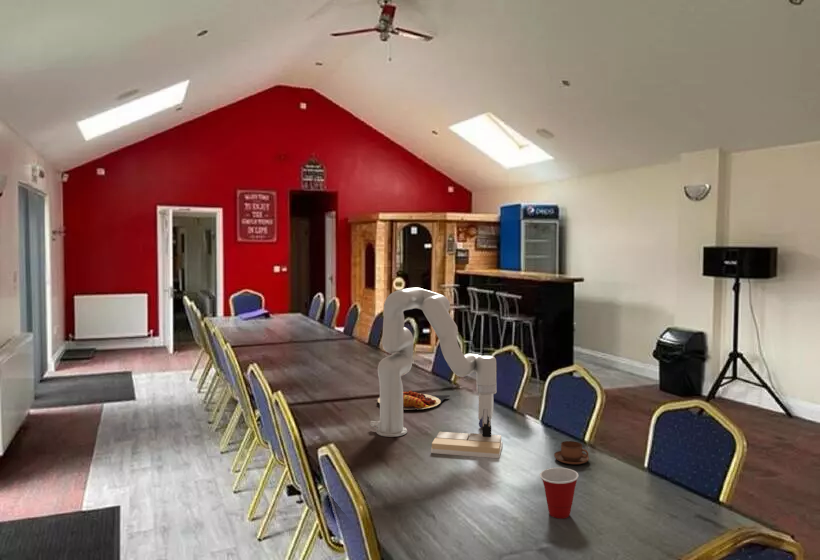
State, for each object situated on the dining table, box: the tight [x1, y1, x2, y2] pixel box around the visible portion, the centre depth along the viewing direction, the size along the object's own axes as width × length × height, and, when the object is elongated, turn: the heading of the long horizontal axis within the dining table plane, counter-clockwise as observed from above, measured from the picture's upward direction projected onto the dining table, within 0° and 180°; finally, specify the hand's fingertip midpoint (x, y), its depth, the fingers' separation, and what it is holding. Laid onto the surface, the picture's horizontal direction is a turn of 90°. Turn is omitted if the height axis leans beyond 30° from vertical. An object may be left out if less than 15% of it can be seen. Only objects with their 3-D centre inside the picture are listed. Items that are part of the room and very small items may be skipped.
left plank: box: [435, 431, 470, 440], centre depth 238 cm, size 12×7×2 cm, turn 77°
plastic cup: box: [539, 467, 579, 519], centre depth 178 cm, size 11×11×12 cm
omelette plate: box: [377, 390, 451, 411], centre depth 301 cm, size 31×35×7 cm
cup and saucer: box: [553, 440, 590, 465], centre depth 221 cm, size 12×12×6 cm
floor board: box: [430, 437, 503, 459], centre depth 234 cm, size 25×14×4 cm, turn 77°
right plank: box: [468, 432, 502, 444], centre depth 236 cm, size 12×7×2 cm, turn 77°
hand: (486, 436), depth 237 cm, fingers closed
